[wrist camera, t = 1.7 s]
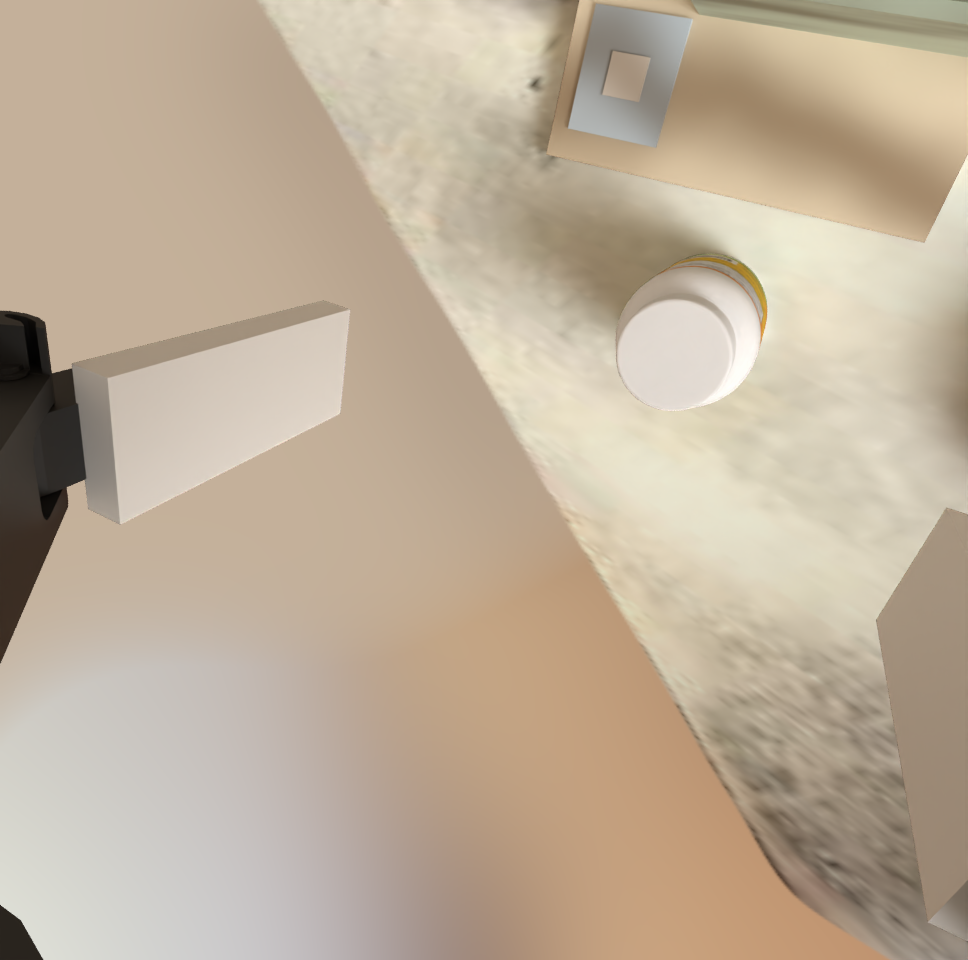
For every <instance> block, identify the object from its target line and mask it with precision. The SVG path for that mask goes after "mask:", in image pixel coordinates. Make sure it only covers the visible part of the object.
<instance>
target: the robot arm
mask: <svg viewBox="0 0 968 960" xmlns="http://www.w3.org/2000/svg"><path fill="white" fill-rule="evenodd" d="M349 317H350V309H348V308H345V307H342V306H339V305H336V304H333V303H330V302H327V301H320V302H316V303H312V304H308V305H304V306H300V307H296V308H292V309H288V310H284V311H280V312H276V313H272V314H268V315H264V316H260V317H256V318H252V319H248V320H244V321H240V322H235V323H231V324H228V325H223V326H220V327H216V328H211V329H208V330H204V331H200V332H195V333H192V334H188V335H183V336H180V337H175V338H172V339H168V340H163V341H159V342H156V343H151V344H147V345H144V346H140V347H135V348H132V349H127V350H124V351H120V352H116V353H111V354H107V355H103V356H100V357H95V358H91V359H87V360H83V361H79V362H76V363H72V369H68V370H64V371H60V372H56V373H52V371H51V364H50V356H49V349H48V341H47V333H46V325H45V322H44V321H42V320H41V319H40V318H38V317H35V316H32V315H29V314H25V313H19V312H12V311H0V663H1V661H2V659H3V656H4V654H5V652H6V649H7V647H8V645H9V642H10V640H11V638H12V635H13V633H14V631H15V628H16V626H17V624H18V621H19V619H20V617H21V614H22V612H23V610H24V607H25V605H26V603H27V600H28V598H29V596H30V593H31V591H32V589H33V587H34V584H35V582H36V580H37V577H38V575H39V573H40V570H41V568H42V566H43V563H44V561H45V559H46V556H47V554H48V552H49V549H50V547H51V545H52V542H53V540H54V538H55V536H56V533H57V531H58V529H59V526H60V524H61V522H62V519H63V517H64V515H65V512H66V510H67V508H68V495H67V487H68V486H71V485H73V484H75V483H78V482H80V481H83V480H85V485H86V494H87V503H88V509H89V510H91V511H93V512H95V513H97V514H100V515H102V516H104V517H105V518H108V519H110V520H112V521H114V522H116V523H118V524H123V523H125V522H127V521H129V520H130V519H133V518H135V517H137V516H138V515H141V514H143V513H144V512H147V511H149V510H151V509H153V508H154V507H156V506H158V505H160V504H162V503H164V502H166V501H168V500H170V499H172V498H174V497H176V496H178V495H180V494H182V493H184V492H186V491H188V490H190V489H192V488H194V487H196V486H198V485H200V484H202V483H204V482H206V481H208V480H210V479H212V478H214V477H216V476H218V475H220V474H222V473H224V472H226V471H228V470H230V469H232V468H234V467H236V466H238V465H240V464H242V463H244V462H246V461H247V460H250V459H251V458H254V457H256V456H257V455H259V454H261V453H264V452H266V451H267V450H269V449H271V448H273V447H275V446H277V445H279V444H281V443H283V442H285V441H287V440H289V439H291V438H293V437H295V436H297V435H299V434H301V433H303V432H305V431H307V430H309V429H311V428H313V427H315V426H317V425H319V424H321V423H323V422H325V421H327V420H329V419H331V418H333V417H335V416H337V415H339V414H340V411H341V401H342V390H343V379H344V370H345V359H346V349H347V348H346V347H347V338H348V327H349ZM876 622H877V628H878V634H879V640H880V645H881V651H882V657H883V663H884V669H885V675H886V680H887V686H888V692H889V698H890V704H891V710H892V716H893V721H894V727H895V733H896V739H897V745H898V751H899V757H900V762H901V768H902V774H903V780H904V786H905V792H906V798H907V803H908V809H909V815H910V821H911V827H912V833H913V839H914V844H915V850H916V856H917V862H918V868H919V874H920V879H921V885H922V891H923V897H924V903H925V909H926V915H927V920H928V923H930V924H932V925H934V926H936V927H938V928H940V929H942V930H945V931H947V932H949V933H951V934H953V935H955V936H957V937H959V938H961V939H963V940H965V941H967V942H968V515H967V514H964V513H961V512H958V511H955V510H952V509H949V508H946V509H945V511H944V512H943V514H942V516H941V517H940V519H939V520H938V522H937V524H936V525H935V527H934V528H933V530H932V532H931V533H930V535H929V536H928V538H927V540H926V541H925V543H924V544H923V546H922V548H921V549H920V551H919V552H918V554H917V556H916V557H915V559H914V560H913V562H912V564H911V565H910V567H909V568H908V570H907V572H906V573H905V575H904V576H903V578H902V580H901V581H900V583H899V584H898V586H897V588H896V589H895V591H894V592H893V594H892V596H891V597H890V599H889V600H888V602H887V604H886V605H885V607H884V609H883V610H882V612H881V613H880V615H879V617H878V618H877V620H876ZM0 960H43V958H42V957H41V955H40V953H39V952H38V950H37V948H36V946H35V944H34V943H33V941H32V939H31V938H30V936H29V934H28V932H27V930H26V929H25V927H24V925H23V923H22V922H21V920H20V919H18V918H17V917H16V916H14V915H13V914H11V913H10V912H9V911H7V910H6V909H5V908H3V907H2V906H1V905H0Z"/></svg>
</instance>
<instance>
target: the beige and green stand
mask: <svg viewBox="0 0 968 960" xmlns="http://www.w3.org/2000/svg"><path fill="white" fill-rule="evenodd" d="M546 154H547V155H551V156H556V157H560V158H564V159H568V160H573V161H577V162H581V163H586V164H590V165H594V166H598V167H603V168H607V169H611V170H616V171H620V172H624V173H628V174H633V175H637V176H641V177H646V178H650V179H654V180H658V181H663V182H667V183H671V184H676V185H680V186H684V187H688V188H693V189H697V190H701V191H706V192H710V193H714V194H718V195H723V196H727V197H731V198H735V199H740V200H744V201H748V202H753V203H757V204H761V205H765V206H770V207H774V208H778V209H783V210H787V211H791V212H795V213H800V214H804V215H808V216H813V217H817V218H821V219H825V220H830V221H834V222H838V223H843V224H847V225H851V226H855V227H860V228H864V229H868V230H872V231H877V232H881V233H885V234H890V235H894V236H898V237H902V238H907V239H911V240H915V241H920V242H925V240H926V238H927V236H928V234H929V232H930V230H931V228H932V226H933V224H934V222H935V220H936V218H937V216H938V214H939V212H940V210H941V208H942V206H943V204H944V202H945V200H946V198H947V195H948V193H949V191H950V189H951V187H952V185H953V183H954V181H955V179H956V177H957V175H958V173H959V171H960V169H961V167H962V165H963V163H964V161H965V159H966V157H967V155H968V0H579V5H578V9H577V14H576V18H575V23H574V28H573V32H572V37H571V42H570V46H569V51H568V56H567V60H566V65H565V69H564V74H563V79H562V83H561V88H560V93H559V97H558V102H557V107H556V111H555V116H554V121H553V125H552V130H551V134H550V139H549V144H548V148H547V153H546Z"/></svg>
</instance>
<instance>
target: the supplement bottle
mask: <svg viewBox="0 0 968 960" xmlns="http://www.w3.org/2000/svg"><path fill="white" fill-rule="evenodd" d="M766 319H767V301H766V296H765V292H764V290H763V287H762V285H761V283H760V281H759V279H758V278H757V276H756V275H755V274H754V272H753V271H752V270H751V269H750V268H748V267H747V266H746V265H745V264H743V263H741V262H740V261H738V260H736V259H734V258H732V257H728V256H725V255H720V254H701V255H695V256H692V257H688V258H686V259H683V260H681V261H679V262H677V263H676V264H674V265H672V266H671V267H669V268H668V269H666V270H664V271H663V272H661V273H659V274H658V275H656V276H655V277H653V278H652V279H650V280H649V281H648V282H646V283H645V284H644V285H643V286H641V287H640V288H639V289H638V290H637V291H636V292H635V293H634V294H633V296H632V297H631V298H630V300H629V301H628V302H627V304H626V306H625V307H624V309H623V311H622V314H621V316H620V319H619V322H618V326H617V330H616V362H617V368H618V371H619V374H620V377H621V379H622V381H623V383H624V385H625V386H626V388H627V389H628V390H629V391H630V393H631V394H632V395H634V396H635V397H636V398H637V399H638V400H640V401H641V402H643V403H644V404H646V405H648V406H651V407H653V408H657V409H660V410H666V411H680V410H686V409H690V408H694V407H700V406H704V405H708V404H711V403H713V402H716V401H718V400H720V399H722V398H723V397H725V396H727V395H728V394H730V393H731V392H732V391H733V390H735V389H736V388H737V387H738V386H739V385H740V384H741V383H742V382H743V381H744V379H745V378H746V377H747V375H748V374H749V372H750V371H751V369H752V367H753V365H754V363H755V361H756V358H757V355H758V352H759V348H760V344H761V341H762V336H763V333H764V329H765V325H766Z"/></svg>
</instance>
